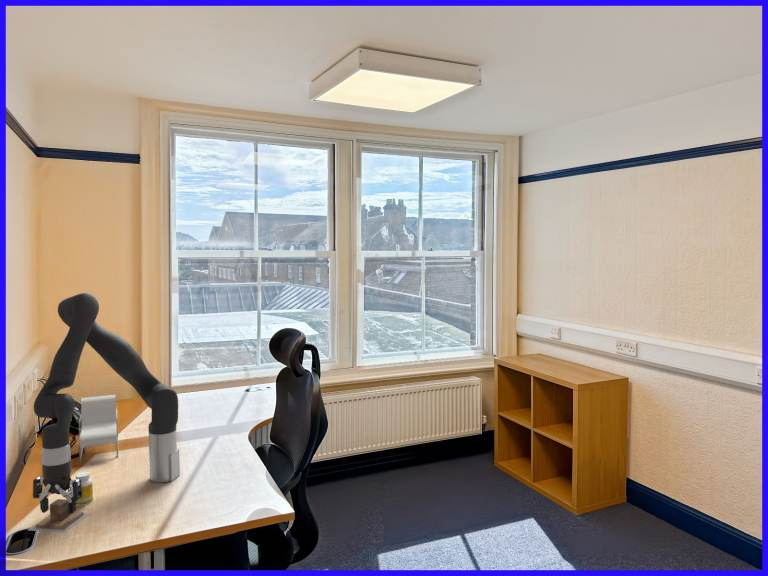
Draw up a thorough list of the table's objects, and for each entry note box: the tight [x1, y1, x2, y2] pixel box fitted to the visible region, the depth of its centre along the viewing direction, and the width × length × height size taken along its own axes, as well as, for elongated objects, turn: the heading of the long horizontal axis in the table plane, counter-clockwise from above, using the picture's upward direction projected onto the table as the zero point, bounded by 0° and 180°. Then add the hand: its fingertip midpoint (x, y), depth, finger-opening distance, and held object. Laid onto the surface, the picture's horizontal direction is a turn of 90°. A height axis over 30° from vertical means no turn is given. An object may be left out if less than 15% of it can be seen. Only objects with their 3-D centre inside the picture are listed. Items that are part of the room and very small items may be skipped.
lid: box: [35, 498, 84, 530], centre depth 175 cm, size 9×9×6 cm
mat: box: [27, 512, 92, 534], centre depth 175 cm, size 12×12×1 cm
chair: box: [78, 394, 119, 463], centre depth 234 cm, size 13×25×20 cm, turn 25°
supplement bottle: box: [75, 471, 94, 507], centre depth 188 cm, size 5×5×10 cm
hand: (58, 512), depth 175 cm, fingers open, 8 cm apart
